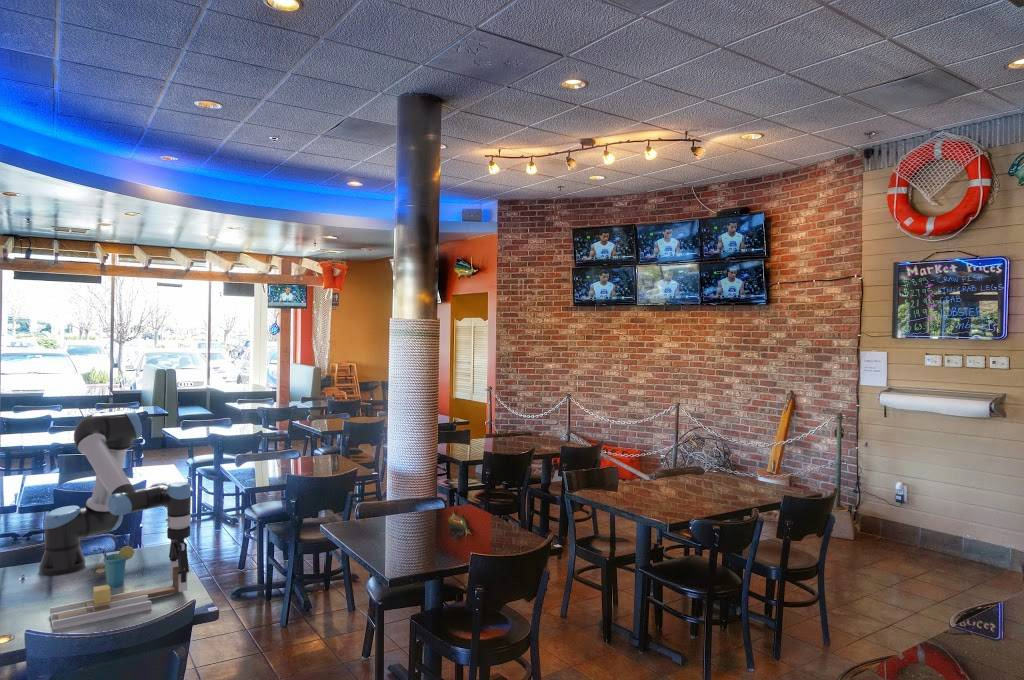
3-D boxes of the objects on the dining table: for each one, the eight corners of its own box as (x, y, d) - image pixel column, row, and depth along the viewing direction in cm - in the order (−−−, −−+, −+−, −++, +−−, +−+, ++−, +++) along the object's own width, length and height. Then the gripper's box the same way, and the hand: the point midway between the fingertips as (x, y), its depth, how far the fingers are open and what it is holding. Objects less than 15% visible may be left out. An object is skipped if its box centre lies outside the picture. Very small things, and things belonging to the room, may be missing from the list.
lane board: (50, 615, 231) (50, 607, 231) (144, 596, 248) (144, 588, 248) (53, 630, 221) (53, 621, 221) (151, 609, 238) (151, 601, 238)
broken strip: (57, 619, 226) (57, 614, 226) (108, 608, 235) (108, 604, 235) (58, 623, 223) (58, 618, 223) (110, 612, 232) (110, 608, 231)
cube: (93, 600, 237) (93, 587, 237) (108, 597, 240) (108, 584, 240) (94, 604, 234) (95, 591, 234) (110, 601, 237) (110, 588, 236)
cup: (92, 593, 250) (92, 552, 249) (88, 586, 256) (88, 546, 255) (135, 584, 258) (135, 544, 258) (131, 578, 264) (131, 539, 264)
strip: (85, 606, 236) (85, 583, 236) (181, 587, 254) (181, 565, 254) (87, 610, 233) (87, 587, 232) (184, 591, 251) (184, 569, 251)
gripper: (160, 519, 258) (160, 576, 259) (175, 537, 239) (174, 598, 239) (182, 516, 263) (182, 572, 264) (198, 533, 243) (198, 593, 244)
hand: (178, 584), depth 251 cm, fingers open, 13 cm apart
